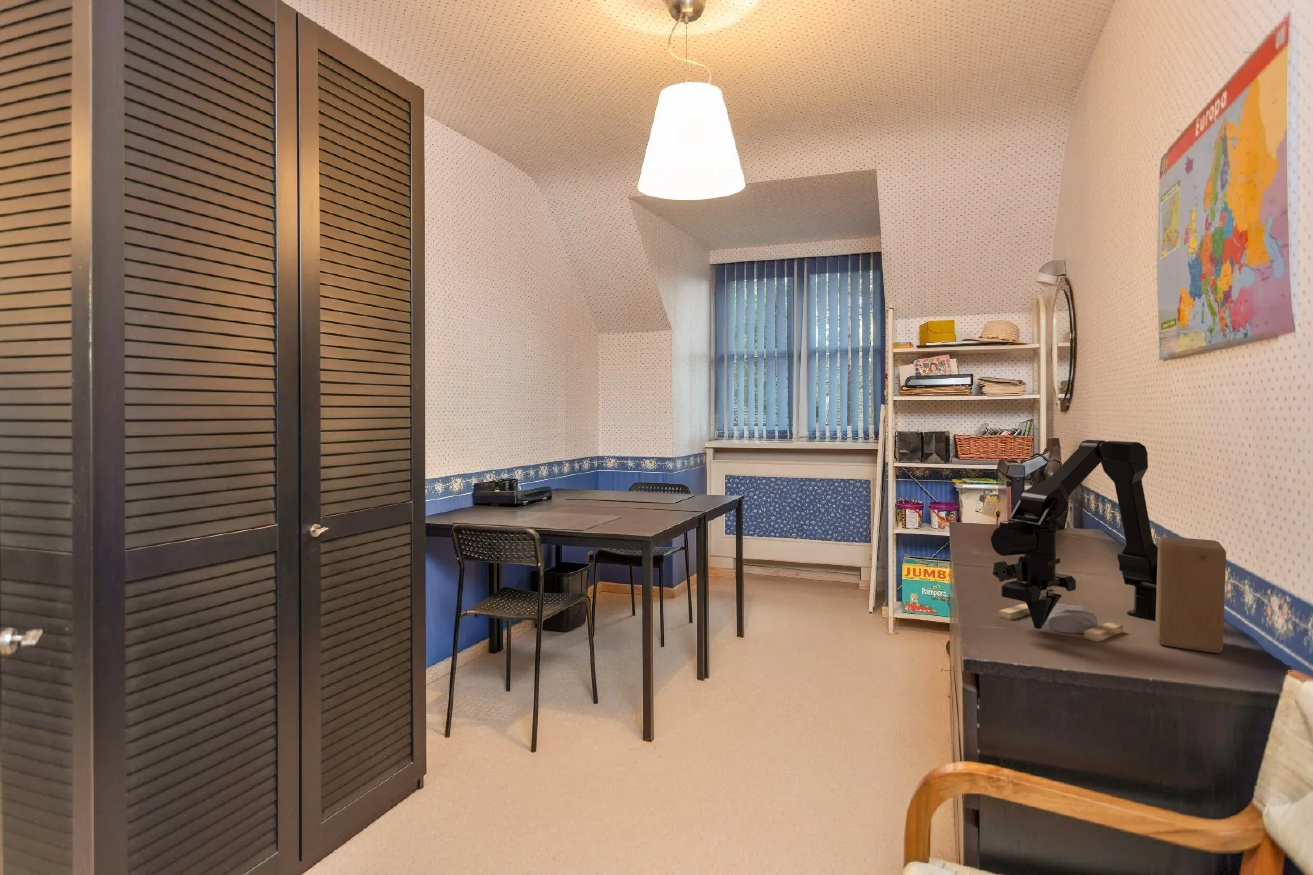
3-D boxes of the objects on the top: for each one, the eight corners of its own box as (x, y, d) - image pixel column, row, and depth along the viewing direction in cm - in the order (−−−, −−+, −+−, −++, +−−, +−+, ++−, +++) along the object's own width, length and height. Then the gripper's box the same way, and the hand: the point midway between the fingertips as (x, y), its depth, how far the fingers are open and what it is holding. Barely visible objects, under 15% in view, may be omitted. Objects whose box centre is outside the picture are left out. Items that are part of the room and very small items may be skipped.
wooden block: (1223, 655, 134) (1227, 548, 133) (1157, 646, 139) (1160, 542, 138) (1216, 641, 142) (1220, 540, 142) (1154, 632, 148) (1158, 535, 147)
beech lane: (1025, 609, 164) (1025, 602, 164) (1122, 631, 148) (1122, 624, 148) (998, 617, 158) (999, 610, 158) (1097, 641, 142) (1097, 634, 142)
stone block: (1050, 641, 148) (1103, 634, 146) (1045, 617, 148) (1098, 611, 146) (1033, 626, 160) (1081, 620, 158) (1028, 604, 160) (1077, 598, 158)
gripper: (1024, 541, 159) (1023, 611, 160) (976, 550, 149) (975, 626, 149) (1078, 549, 150) (1076, 624, 151) (1031, 560, 139) (1029, 640, 140)
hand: (1038, 628), depth 148 cm, fingers closed
